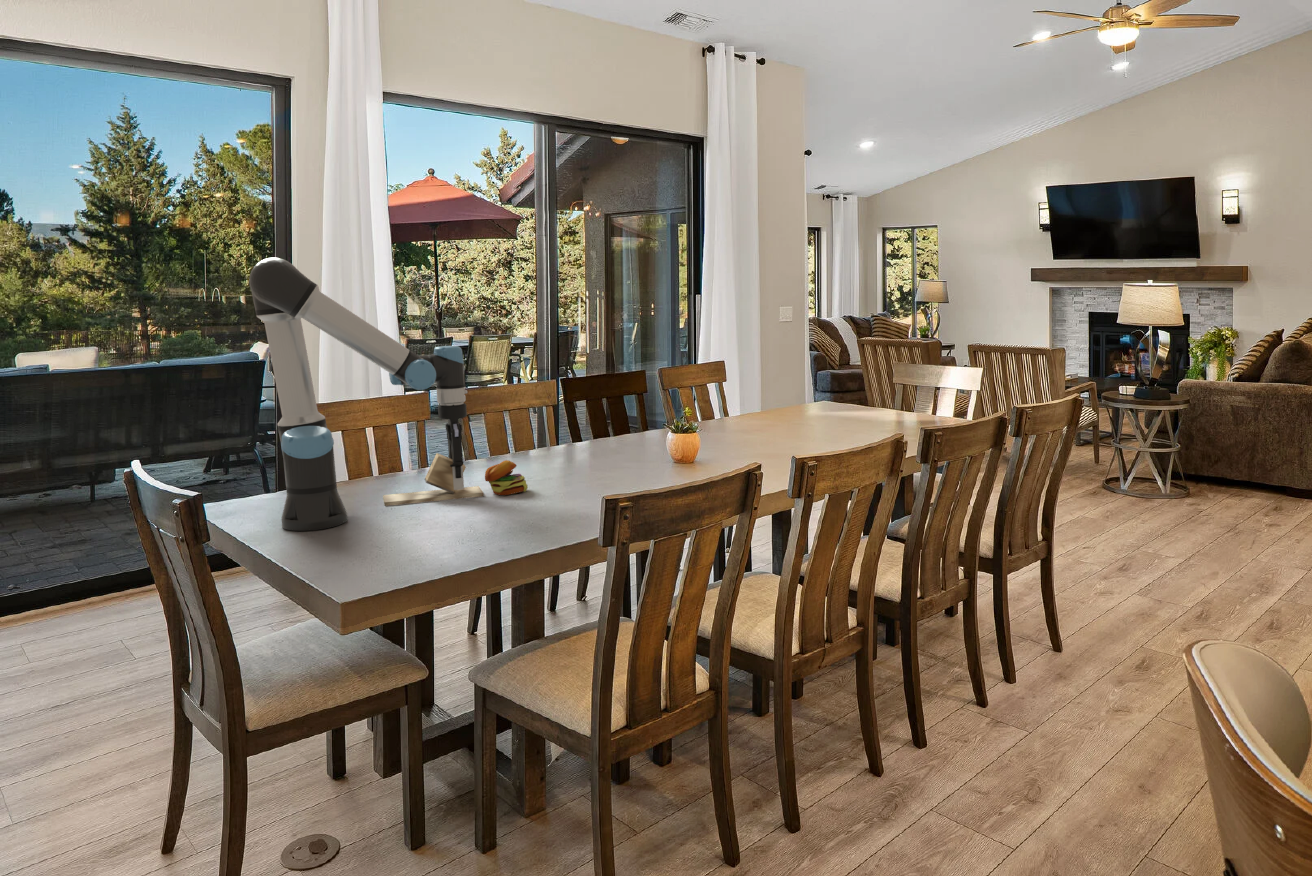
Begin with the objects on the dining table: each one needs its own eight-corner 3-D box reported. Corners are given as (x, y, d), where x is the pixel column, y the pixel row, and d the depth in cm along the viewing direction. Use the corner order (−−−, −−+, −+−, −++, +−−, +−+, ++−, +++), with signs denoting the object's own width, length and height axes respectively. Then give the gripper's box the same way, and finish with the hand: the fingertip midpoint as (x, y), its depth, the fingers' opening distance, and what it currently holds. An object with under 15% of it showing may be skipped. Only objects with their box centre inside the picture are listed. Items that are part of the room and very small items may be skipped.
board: (384, 506, 243) (384, 502, 243) (383, 498, 251) (383, 495, 251) (483, 496, 251) (483, 492, 251) (479, 489, 259) (478, 485, 259)
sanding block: (426, 482, 248) (438, 455, 247) (424, 479, 252) (436, 452, 252) (453, 493, 250) (465, 467, 250) (451, 490, 255) (463, 463, 255)
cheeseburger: (526, 495, 250) (515, 460, 248) (488, 505, 251) (477, 471, 249) (531, 486, 260) (521, 453, 258) (495, 496, 261) (484, 463, 259)
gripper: (470, 406, 242) (475, 492, 246) (461, 398, 259) (467, 479, 263) (441, 408, 239) (447, 495, 243) (434, 400, 256) (440, 482, 260)
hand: (457, 487), depth 253 cm, fingers closed on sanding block, 5 cm apart
